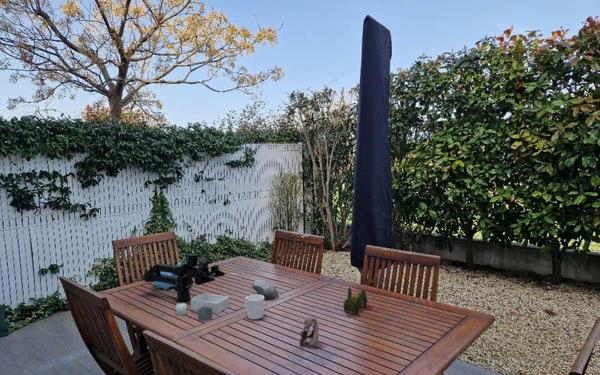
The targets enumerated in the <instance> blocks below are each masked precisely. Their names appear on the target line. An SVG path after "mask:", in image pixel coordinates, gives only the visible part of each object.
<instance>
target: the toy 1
mask: <svg viewBox="0 0 600 375" xmlns="http://www.w3.org/2000/svg"><path fill="white" fill-rule="evenodd" d="M318 323H319V322H318V319H317V318H315V317H314V314H313V315H312V318H311V317H310V316H306V317H305V318H304V320H303V324H304V328H303V330H302V331H300V332H299V334H300V341H299V344H300V345H299V347H303V345H304V344H306V343H307V341H308V339H311V340H310V342H309V343H308V344H307V345H308V346H311V347H312V348H315V346H316V345H317V344H318V342H319V341H318V340H319V324H318ZM312 325H313V328H312V331H311V333H309V331H310V329H311V326H312Z"/></svg>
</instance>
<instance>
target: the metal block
mask: <svg viewBox="0 0 600 375" xmlns="http://www.w3.org/2000/svg"><path fill="white" fill-rule="evenodd" d="M212 318H213V313H212V308H210V307H205V306H204V307H202V308H200V309H198V310H197V320H199V321H204V322H207V321H208V320H209V319H212Z"/></svg>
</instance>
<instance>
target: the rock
mask: <svg viewBox="0 0 600 375" xmlns="http://www.w3.org/2000/svg"><path fill="white" fill-rule="evenodd" d="M251 288H252V289H253V290H254V291H256V293H257V294H258V295H263V296H264V299H267V300H268V299H269V300H272V299H274V298H276V297H278V296H279V292H278V290H277V287H275V286H274V285H272V284H271V283H269V282H268V281H267V280H264V279H262V280H261V279H257V280H254V281H252V282H251Z"/></svg>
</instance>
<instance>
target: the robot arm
mask: <svg viewBox="0 0 600 375" xmlns="http://www.w3.org/2000/svg"><path fill="white" fill-rule="evenodd" d="M185 259H186V260H185V261H186V263H184V264H180V265H173V264H167V263H162V262H158V263H155V264H154V265H153V266H152V267H151V268H150V269H148V270H147V271H146V272H144V273H143V277H142V279H143V281H144V282H145V283H153V282H155V281H158V282H163V283H168V284H173V285H176V287H173V289H174V292H175V293H176V298H177V299H176V300H175V302H178V303H186V302H189V301H191V299H192V297H191V292H190V289H192V286H193V285H194V284H195V285H196V286H200V285H204V284H207V283H210V282H214V281H215V280H216V278H219V277H224V276H226V273H225V272H223V271H222V270H220V266H219V265H218V264H215V265H213V266H211V267H209V264H210V262H211V261H210V259H209V258H206V257H205V258H202V259H200V261H198V260H199V254H198V253H197V252H193V253H187V254H185ZM197 265H198V267H196V266H197ZM209 269H210V270H209ZM161 272H168V273H173V274H174V275H176V276H178V277H175V276H169V275H164V274H160V273H161Z"/></svg>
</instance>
